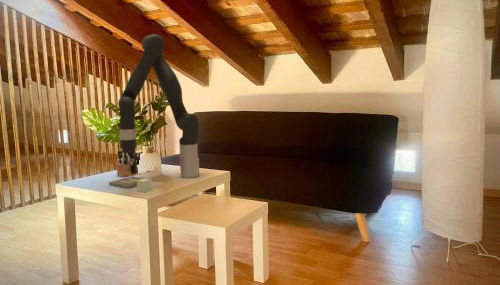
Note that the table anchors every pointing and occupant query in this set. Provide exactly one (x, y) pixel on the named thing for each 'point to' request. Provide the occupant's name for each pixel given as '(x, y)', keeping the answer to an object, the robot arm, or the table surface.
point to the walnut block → (127, 169)
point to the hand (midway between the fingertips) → (129, 172)
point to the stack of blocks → (127, 162)
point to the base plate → (126, 182)
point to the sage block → (144, 185)
